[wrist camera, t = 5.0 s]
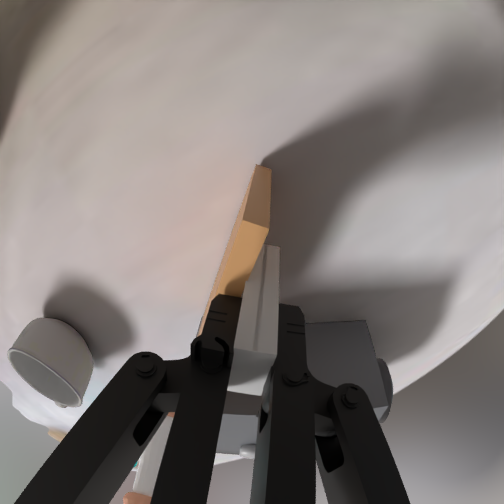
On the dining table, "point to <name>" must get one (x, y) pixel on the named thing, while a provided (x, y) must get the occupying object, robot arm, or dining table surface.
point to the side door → (244, 239)
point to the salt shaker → (149, 465)
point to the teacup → (53, 361)
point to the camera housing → (323, 369)
